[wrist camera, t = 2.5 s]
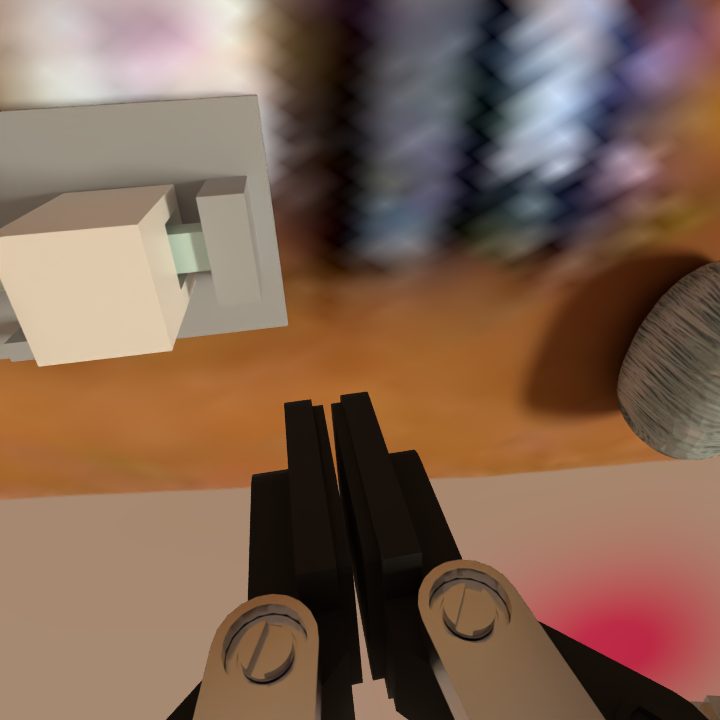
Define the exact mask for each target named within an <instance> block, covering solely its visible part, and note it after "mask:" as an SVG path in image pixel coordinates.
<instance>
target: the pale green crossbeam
mask: <svg viewBox="0 0 720 720" xmlns="http://www.w3.org/2000/svg"><path fill="white" fill-rule="evenodd" d="M165 228H166V232H167V236H168V240H169V244H170V248H171V252H172V256H173V260H174V264H175V268H176V272H177V274H180V273H190V272H199V271H209V270H211V268H210V263H209V258H208V254H207V249H206V244H205V239H204V235H203V230H202V225H201V222H200V223H189V224H178V225H167V226H165ZM4 291H5V289H4V286H3V284H2V282H1V279H0V292H4Z"/></svg>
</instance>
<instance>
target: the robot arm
mask: <svg viewBox="0 0 720 720" xmlns="http://www.w3.org/2000/svg"><path fill="white" fill-rule="evenodd" d="M340 400H341V402H340V403H333V404H331V411H332V421H333V431H334V441H335V451H336V461H337V472H338V482H339V490H338V484H337V479H336V474H335V468H334V463H333V457H332V452H331V447H330V441H329V436H328V431H327V425H326V420H325V414H324V409H323V405H319V406H312V402H311V399H310V400H302V401H295V402H288V403H284V409H285V425H286V440H287V455H288V469H286V470H280V471H273V472H267V473H260V474H254V475H253V476H252V482H251V512H250V545H249V546H250V547H249V578H248V581H249V582H248V601H247V602H245V603H243V604H241V605H240V606H238V607H237V608H236V609H235V610H234V611H232V612H231V613H230V614H229V615H228V616H227V617H226V618H225V620H224V621H223V622H222V624H221V625H220V626H219V628H218V629H217V631H216V634H215V636H214V639H213V641H212V644H211V647H210V651H209V655H208V659H207V663H206V667H205V672H204V675H203V679H202V681H201V682H200V683H199V684H198V685H197V686H196V687H195V689H194V690H193V691H192V692H191V693H190V694H189V695H188V697H186V698H185V700H184V701H183V702H182V703H181V704H180V705H179V706H178V707H177V708H176V710H175V711H174V712H173V713H172V714H171V715H170V716H169V717H168V718H167V719H166V720H355V712H354V704H353V695H352V685H354V684H358V683H363V679H362V669H361V657H360V646H359V635H358V624H357V612H356V601H355V590H354V582H355V587H356V592H357V598H358V603H359V609H360V614H361V620H362V625H363V631H364V636H365V642H366V647H367V653H368V658H369V664H370V669H371V674H372V679H373V680H378V679H382V678H385V683H386V688H387V693H388V698H389V699H391V698H394V703H395V707H396V711H397V712H399V713H400V714H401V715H403V716H404V717H405V718H407V719H408V720H720V696H706V698H705V700H704V702H689V701H687V700H686V699H684V698H683V697H681V696H680V695H678V694H677V693H675V692H673V691H671V690H670V689H668V688H666V687H664V686H662V685H660V684H658V683H656V682H654V681H652V680H651V679H648V678H647V677H645V676H643V675H641V674H639V673H637V672H635V671H633V670H631V669H629V668H627V667H626V666H624V665H622V664H620V663H618V662H616V661H614V660H612V659H610V658H608V657H606V656H605V655H603V654H601V653H599V652H597V651H595V650H593V649H591V648H589V647H587V646H585V645H583V644H582V643H580V642H578V641H576V640H574V639H572V638H570V637H568V636H566V635H564V634H562V633H561V632H559V631H557V630H555V629H553V628H551V627H549V626H547V625H545V624H543V623H541V622H539V621H538V620H537V619H536V617H535V616H534V615H533V613H532V612H531V610H530V609H529V607H528V606H527V605H526V603H525V602H524V600H523V599H522V597H521V596H520V594H519V593H518V591H517V590H516V588H515V587H514V586H513V585H512V584H511V583H510V581H509V580H508V579H507V578H506V577H505V576H504V575H503V574H501V573H500V572H498V571H497V570H495V569H494V568H492V567H491V566H489V565H486V564H483V563H480V562H477V561H472V560H462V557H461V555H460V553H459V550H458V548H457V545H456V543H455V541H454V538H453V536H452V534H451V531H450V529H449V527H448V524H447V522H446V519H445V517H444V514H443V512H442V510H441V507H440V505H439V503H438V500H437V498H436V495H435V493H434V491H433V488H432V486H431V483H430V481H429V479H428V476H427V474H426V472H425V469H424V467H423V464H422V462H421V460H420V457H419V455H418V453H417V452H416V451H415V450H410V451H403V452H397V453H390V454H389V453H388V450H387V447H386V444H385V441H384V438H383V435H382V433H381V430H380V427H379V424H378V421H377V418H376V415H375V412H374V409H373V406H372V403H371V400H370V397H369V394H368V392H361V393H353V394H346V395H341V396H340ZM339 492H340V495H339ZM353 576H354V579H353Z"/></svg>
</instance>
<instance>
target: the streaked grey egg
mask: <svg viewBox="0 0 720 720" xmlns="http://www.w3.org/2000/svg"><path fill="white" fill-rule="evenodd" d="M617 396H618V404H619V407H620V410H621V412H622V415H623V417H624V419H625V420H626V422H627V423H628V425H629V426H630V428H631V429H632V431H633V432H634V433H635V434H636V435H637V436H638V437H639V438H640V439H641V440H642V441H644V442H645V443H646V444H647V445H648V446H650V447H651V448H653V449H654V450H656V451H658V452H659V453H661V454H664V455H666V456H669V457H672V458H676V459H683V460H702V459H707V458H713V457H715V456H717V455H719V454H720V261H717V262H713V263H709V264H706V265H704V266H701V267H700V268H698V269H696V270H695V271H693V272H691V273H689V274H687V275H685V276H684V277H683V278H681V279H680V280H679V281H678V282H677V283H675V284H674V285H673V286H672V287H671V288H670V289H669V290H668V291H667V292H666V293H665V294H664V295H663V296H662V297H661V298H660V299H659V301H658V302H657V303H656V304H655V306H654V307H653V309H652V310H651V311H650V313H649V314H648V315H647V317H646V318H645V320H644V321H643V323H642V324H641V325H640V327H639V329H638V331H637V332H636V334H635V336H634V338H633V340H632V342H631V345H630V347H629V349H628V351H627V354H626V356H625V358H624V361H623V363H622V366H621V369H620V373H619V378H618V386H617Z"/></svg>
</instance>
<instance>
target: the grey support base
mask: <svg viewBox="0 0 720 720" xmlns="http://www.w3.org/2000/svg"><path fill="white" fill-rule="evenodd" d="M169 184H173V185H174V189H175V193H176V198H177V202H178V207H179V211H180V215H181V220H182V224H189V223H200V222H201V225H202V230H203V235H204V239H205V244H206V249H207V254H208V258H209V263H210V268H211V270H209V271H199V272H194V276H195V281H196V283H195V286H194V289H193V292H192V294H191V297H190V300H189V303H188V306H187V309H186V312H185V315H184V317H183V320H182V323H181V326H180V329H179V332H178V335H177V338H176V339H179V338H187V337H196V336H204V335H213V334H221V333H230V332H238V331H247V330H255V329H264V328H272V327H281V326H288V320H287V311H286V304H285V296H284V289H283V282H282V274H281V267H280V260H279V252H278V245H277V238H276V230H275V223H274V216H273V208H272V201H271V194H270V186H269V179H268V172H267V164H266V157H265V150H264V142H263V135H262V128H261V120H260V113H259V106H258V98H257V95H249V96H233V97H217V98H201V99H185V100H169V101H152V102H136V103H120V104H104V105H88V106H72V107H56V108H40V109H24V110H8V111H0V228H2V227H4V226H6V225H8V224H9V223H11V222H13V221H15V220H17V219H18V218H20V217H22V216H24V215H26V214H27V213H29V212H31V211H33V210H35V209H36V208H38V207H40V206H42V205H43V204H45V203H47V202H49V201H51V200H52V199H54V198H56V197H58V196H60V195H61V194H63V193H71V192H83V191H95V190H108V189H120V188H132V187H144V186H157V185H169ZM8 358H10V359H11V361H12V362H15V361H24V360H32V359H35V357H34V355H33V353H32V351H31V348H30V346H29V344H28V341H27V339H26V337H25V335H24V332H23V330H22V328H21V325H20V323H19V321H18V318H17V316H16V314H15V312H14V309H13V307H12V305H11V302H10V300H9V298H8V296H7V293H6V291H4V292H0V359H8Z"/></svg>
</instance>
